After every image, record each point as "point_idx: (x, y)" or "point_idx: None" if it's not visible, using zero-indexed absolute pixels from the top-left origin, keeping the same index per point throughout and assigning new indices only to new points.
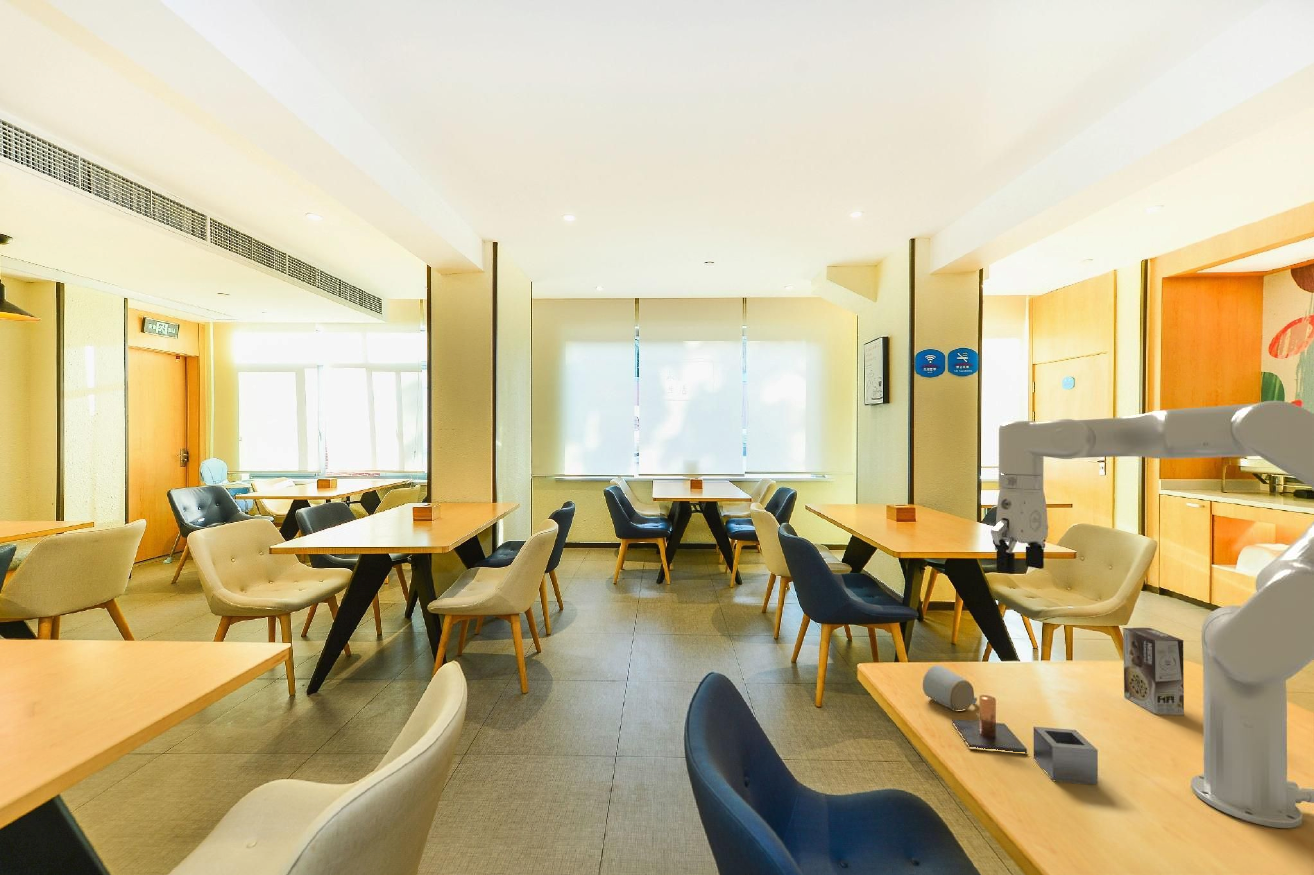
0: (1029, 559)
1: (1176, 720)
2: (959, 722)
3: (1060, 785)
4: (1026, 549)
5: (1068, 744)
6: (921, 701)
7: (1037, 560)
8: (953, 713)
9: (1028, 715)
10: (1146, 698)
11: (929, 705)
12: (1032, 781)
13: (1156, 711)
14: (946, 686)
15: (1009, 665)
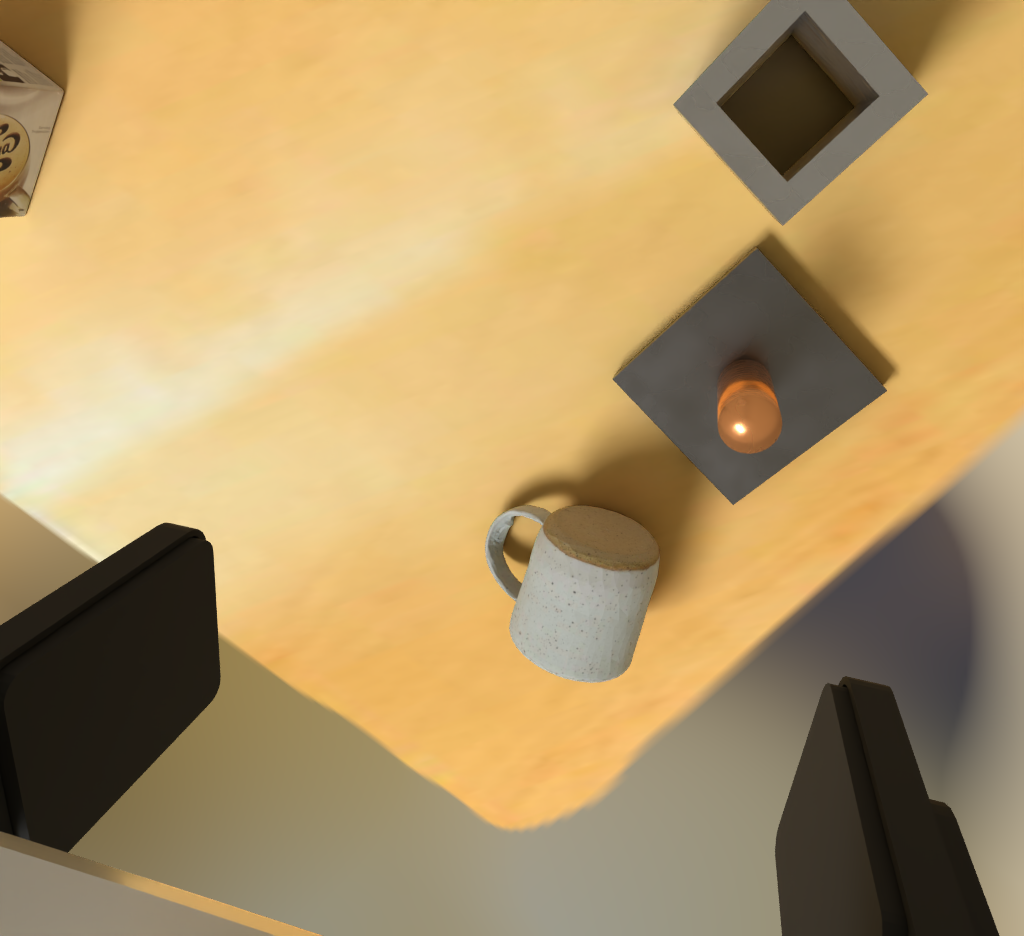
0: (162, 711)
1: (45, 30)
2: (736, 480)
3: None
4: (66, 847)
5: (853, 59)
6: None
7: (146, 626)
8: None
9: (441, 363)
10: (21, 125)
11: None
12: (955, 149)
13: (55, 88)
14: (643, 591)
15: None
